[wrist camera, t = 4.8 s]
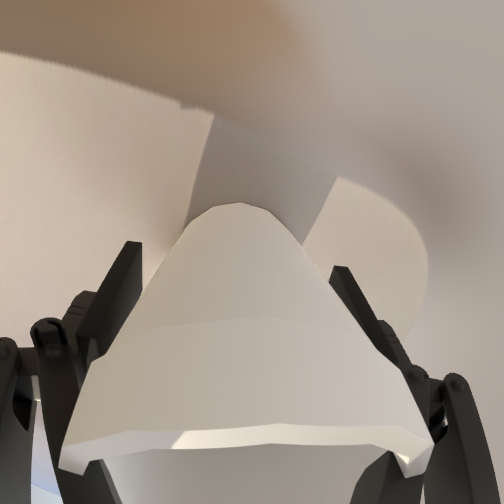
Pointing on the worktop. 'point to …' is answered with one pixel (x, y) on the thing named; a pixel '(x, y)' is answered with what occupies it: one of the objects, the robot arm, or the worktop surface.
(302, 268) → the foam cup
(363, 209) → the worktop surface
